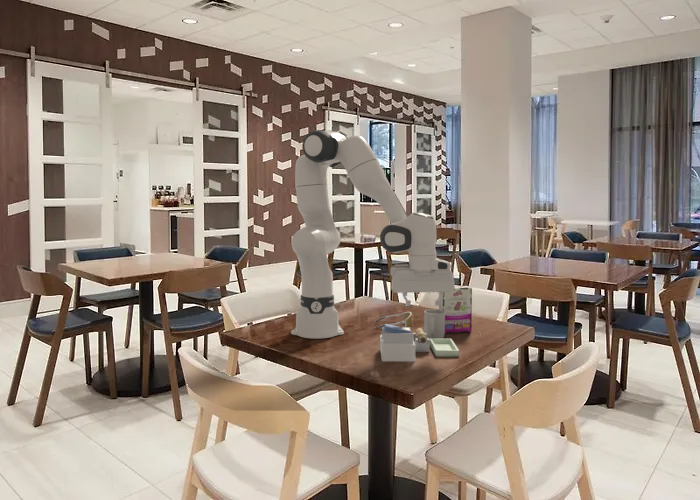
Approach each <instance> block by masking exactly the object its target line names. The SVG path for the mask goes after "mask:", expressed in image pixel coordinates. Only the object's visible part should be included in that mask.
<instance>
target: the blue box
mask: <svg viewBox="0 0 700 500" xmlns="http://www.w3.org/2000/svg"><path fill="white" fill-rule="evenodd" d="M389 324H390V323H388V324H387V323H384V324H383V325H384V331H386V332H391V333H412V331H411V330H410V328H405V326H397V325H389Z"/></svg>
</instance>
